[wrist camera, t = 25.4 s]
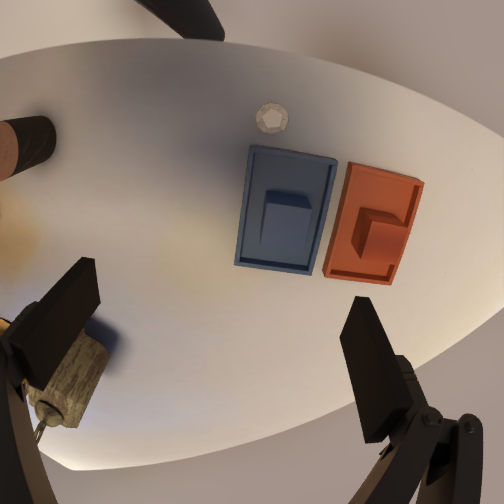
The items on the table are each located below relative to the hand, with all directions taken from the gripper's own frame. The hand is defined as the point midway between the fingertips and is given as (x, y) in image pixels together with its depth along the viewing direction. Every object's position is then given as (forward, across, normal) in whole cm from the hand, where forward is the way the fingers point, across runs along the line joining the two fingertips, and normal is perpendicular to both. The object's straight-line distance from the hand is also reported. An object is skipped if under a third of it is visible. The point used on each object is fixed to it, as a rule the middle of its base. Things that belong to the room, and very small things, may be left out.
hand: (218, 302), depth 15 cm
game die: (+25, +2, +8) cm, 26 cm away
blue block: (+24, +5, -3) cm, 25 cm away
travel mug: (+25, -31, +4) cm, 40 cm away
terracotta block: (+24, +17, -3) cm, 30 cm away
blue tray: (+25, +5, -3) cm, 25 cm away
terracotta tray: (+25, +17, -3) cm, 30 cm away
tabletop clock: (+25, -25, -32) cm, 48 cm away
